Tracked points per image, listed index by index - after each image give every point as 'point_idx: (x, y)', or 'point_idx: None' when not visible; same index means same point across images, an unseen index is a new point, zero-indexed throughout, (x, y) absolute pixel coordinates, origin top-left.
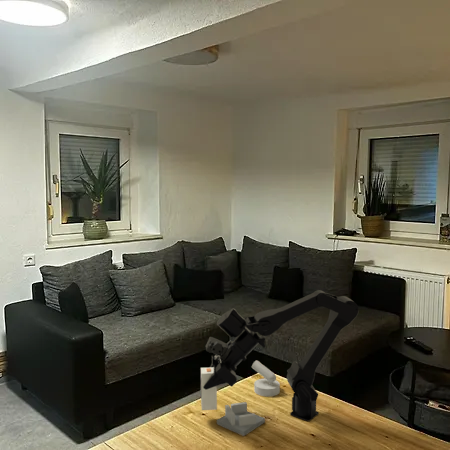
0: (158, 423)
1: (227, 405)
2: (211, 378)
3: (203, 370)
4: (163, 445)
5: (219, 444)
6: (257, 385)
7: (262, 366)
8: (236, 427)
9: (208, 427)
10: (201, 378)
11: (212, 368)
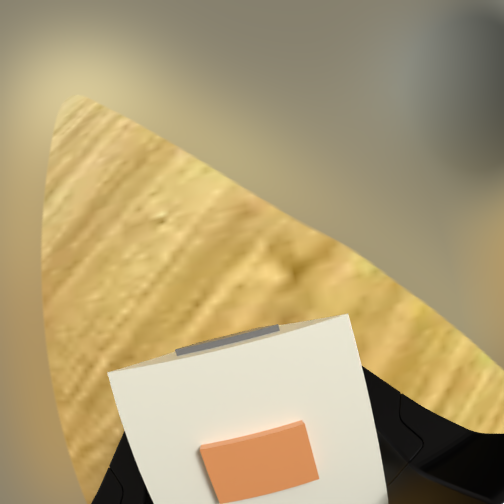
0: (177, 165)
1: None
2: (103, 489)
3: (243, 385)
4: (42, 228)
5: (66, 426)
6: None
7: None
8: None
9: None
10: (145, 362)
11: (345, 488)
